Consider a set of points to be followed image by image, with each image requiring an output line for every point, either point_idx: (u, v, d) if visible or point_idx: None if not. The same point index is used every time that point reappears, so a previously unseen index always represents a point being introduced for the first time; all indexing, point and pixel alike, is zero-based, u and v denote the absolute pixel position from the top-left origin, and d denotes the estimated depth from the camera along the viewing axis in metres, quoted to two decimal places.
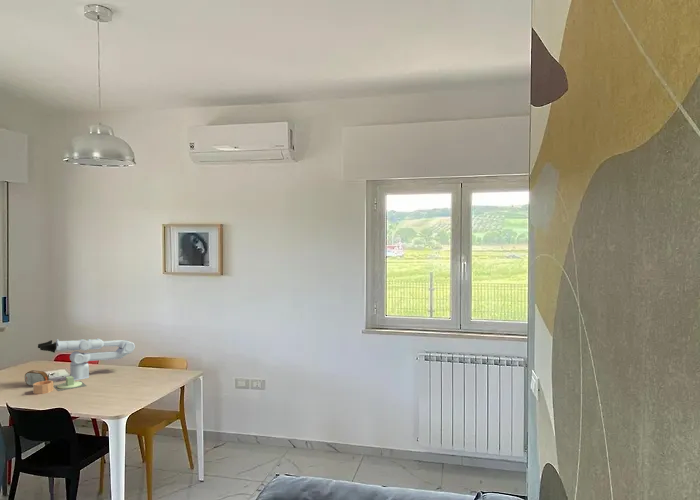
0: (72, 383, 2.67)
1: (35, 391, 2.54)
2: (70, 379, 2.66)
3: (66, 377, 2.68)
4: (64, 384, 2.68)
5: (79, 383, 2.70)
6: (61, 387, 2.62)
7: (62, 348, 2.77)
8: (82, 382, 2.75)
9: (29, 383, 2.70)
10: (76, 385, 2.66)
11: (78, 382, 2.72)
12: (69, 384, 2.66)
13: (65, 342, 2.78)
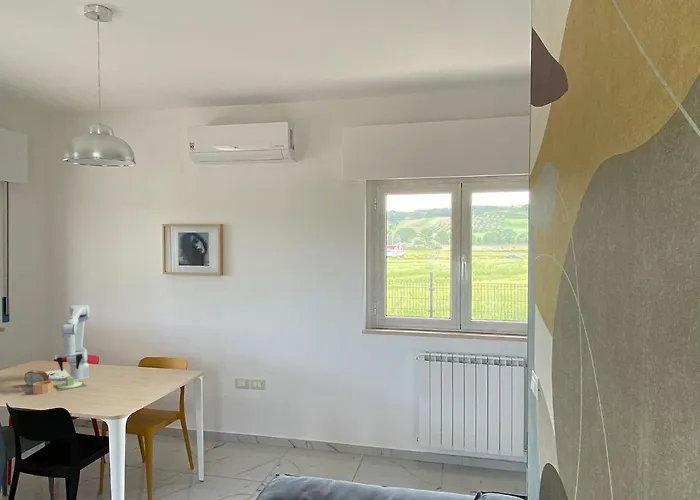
0: (72, 383, 2.67)
1: (35, 391, 2.54)
2: (70, 379, 2.66)
3: (66, 377, 2.68)
4: (64, 384, 2.68)
5: (79, 383, 2.70)
6: (61, 387, 2.62)
7: None
8: (82, 382, 2.75)
9: (29, 383, 2.70)
10: (76, 385, 2.66)
11: (78, 382, 2.72)
12: (69, 384, 2.66)
13: (73, 347, 2.68)
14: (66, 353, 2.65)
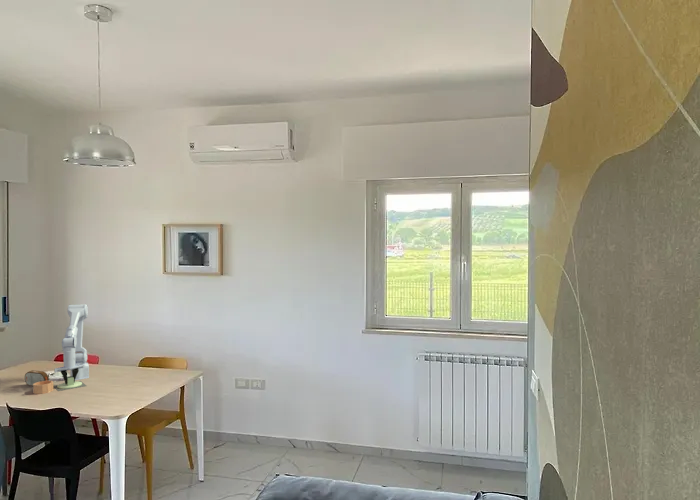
0: (72, 383, 2.67)
1: (35, 391, 2.54)
2: (70, 379, 2.66)
3: None
4: (64, 384, 2.68)
5: (79, 383, 2.70)
6: (61, 387, 2.62)
7: None
8: (82, 382, 2.75)
9: (29, 383, 2.70)
10: (76, 385, 2.66)
11: (78, 382, 2.72)
12: (69, 384, 2.66)
13: (73, 360, 2.68)
14: (66, 366, 2.65)
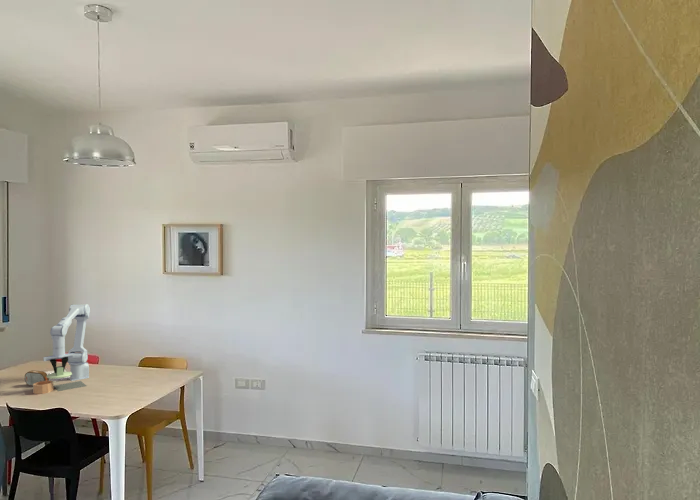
0: (62, 373, 2.63)
1: (35, 391, 2.54)
2: (59, 369, 2.62)
3: None
4: (53, 374, 2.64)
5: (69, 373, 2.66)
6: (50, 377, 2.58)
7: None
8: (82, 382, 2.75)
9: (29, 383, 2.70)
10: (66, 375, 2.62)
11: (68, 372, 2.68)
12: (58, 374, 2.62)
13: (63, 349, 2.63)
14: (56, 355, 2.61)
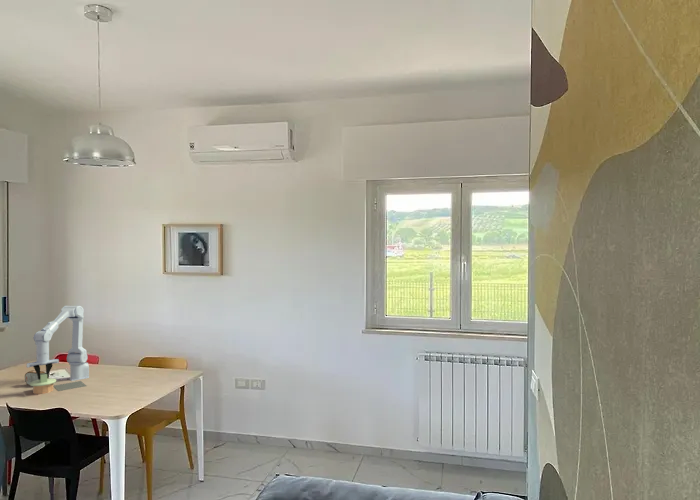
0: (45, 380, 2.57)
1: (35, 391, 2.54)
2: (43, 376, 2.56)
3: None
4: (37, 381, 2.58)
5: (53, 380, 2.60)
6: (33, 384, 2.52)
7: None
8: (82, 382, 2.75)
9: (29, 383, 2.70)
10: (49, 382, 2.56)
11: (52, 379, 2.62)
12: (42, 381, 2.56)
13: (47, 355, 2.57)
14: (39, 361, 2.55)
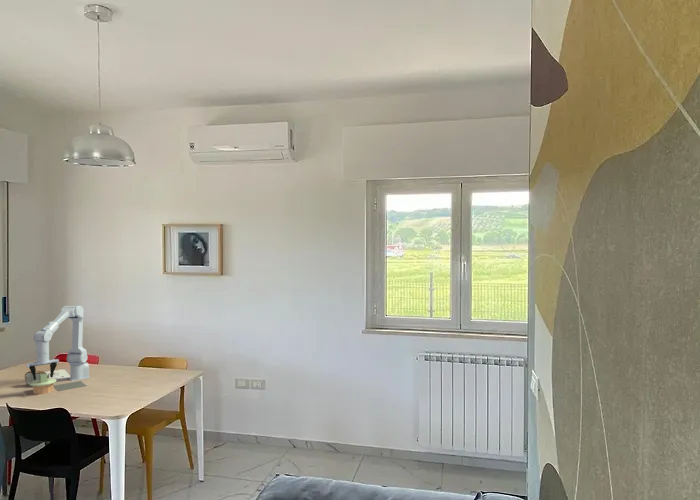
0: (45, 380, 2.57)
1: (35, 391, 2.54)
2: (43, 376, 2.56)
3: (39, 374, 2.58)
4: (37, 381, 2.58)
5: (53, 380, 2.60)
6: (33, 384, 2.52)
7: None
8: (82, 382, 2.75)
9: (29, 383, 2.70)
10: (49, 382, 2.56)
11: (52, 379, 2.62)
12: (42, 381, 2.56)
13: (47, 355, 2.57)
14: (39, 361, 2.55)
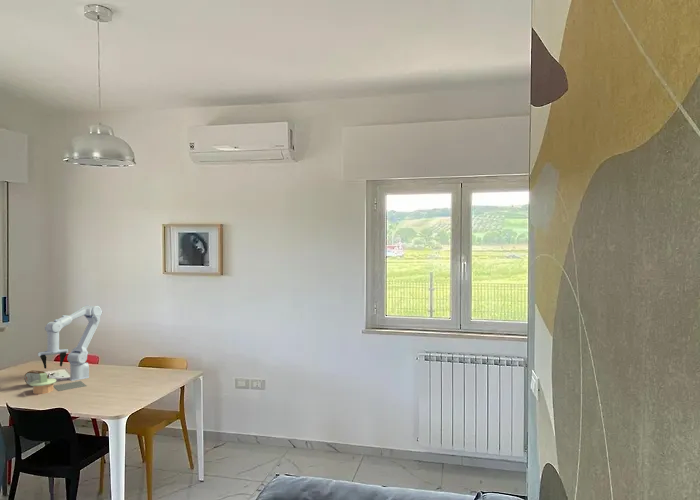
0: (45, 380, 2.57)
1: (35, 391, 2.54)
2: (43, 376, 2.56)
3: (39, 374, 2.58)
4: (37, 381, 2.58)
5: (53, 380, 2.60)
6: (33, 384, 2.52)
7: None
8: (82, 382, 2.75)
9: (29, 383, 2.70)
10: (49, 382, 2.56)
11: (52, 379, 2.62)
12: (42, 381, 2.56)
13: (57, 345, 2.70)
14: (50, 350, 2.68)
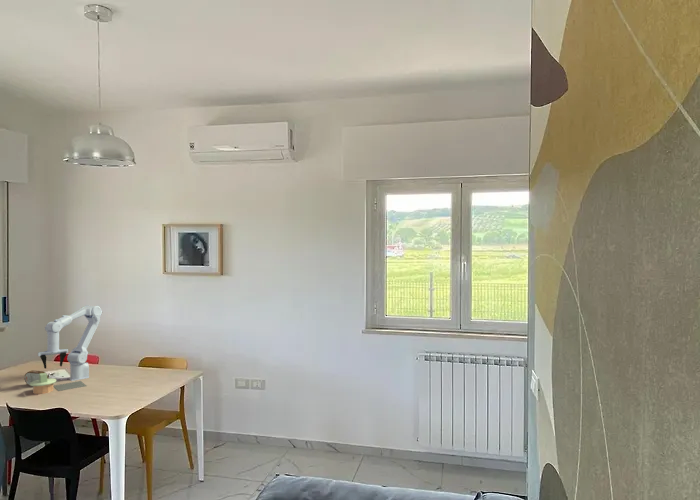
0: (45, 380, 2.57)
1: (35, 391, 2.54)
2: (43, 376, 2.56)
3: (39, 374, 2.58)
4: (37, 381, 2.58)
5: (53, 380, 2.60)
6: (33, 384, 2.52)
7: None
8: (82, 382, 2.75)
9: (29, 383, 2.70)
10: (49, 382, 2.56)
11: (52, 379, 2.62)
12: (42, 381, 2.56)
13: (57, 345, 2.70)
14: (50, 350, 2.68)
